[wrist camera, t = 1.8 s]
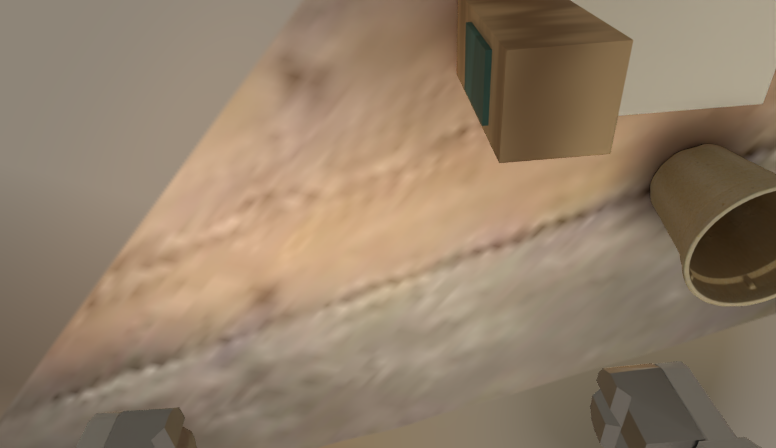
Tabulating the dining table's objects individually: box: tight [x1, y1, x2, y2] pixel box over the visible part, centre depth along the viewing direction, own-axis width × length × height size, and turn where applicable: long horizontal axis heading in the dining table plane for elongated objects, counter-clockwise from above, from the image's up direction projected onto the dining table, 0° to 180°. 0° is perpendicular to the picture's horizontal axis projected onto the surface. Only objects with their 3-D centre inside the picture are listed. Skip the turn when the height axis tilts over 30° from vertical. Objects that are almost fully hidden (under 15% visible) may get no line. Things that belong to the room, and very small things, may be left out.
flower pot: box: [650, 144, 776, 306], centre depth 35 cm, size 9×9×9 cm
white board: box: [570, 0, 776, 116], centre depth 31 cm, size 15×12×1 cm
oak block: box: [457, 0, 633, 163], centre depth 26 cm, size 5×5×12 cm
